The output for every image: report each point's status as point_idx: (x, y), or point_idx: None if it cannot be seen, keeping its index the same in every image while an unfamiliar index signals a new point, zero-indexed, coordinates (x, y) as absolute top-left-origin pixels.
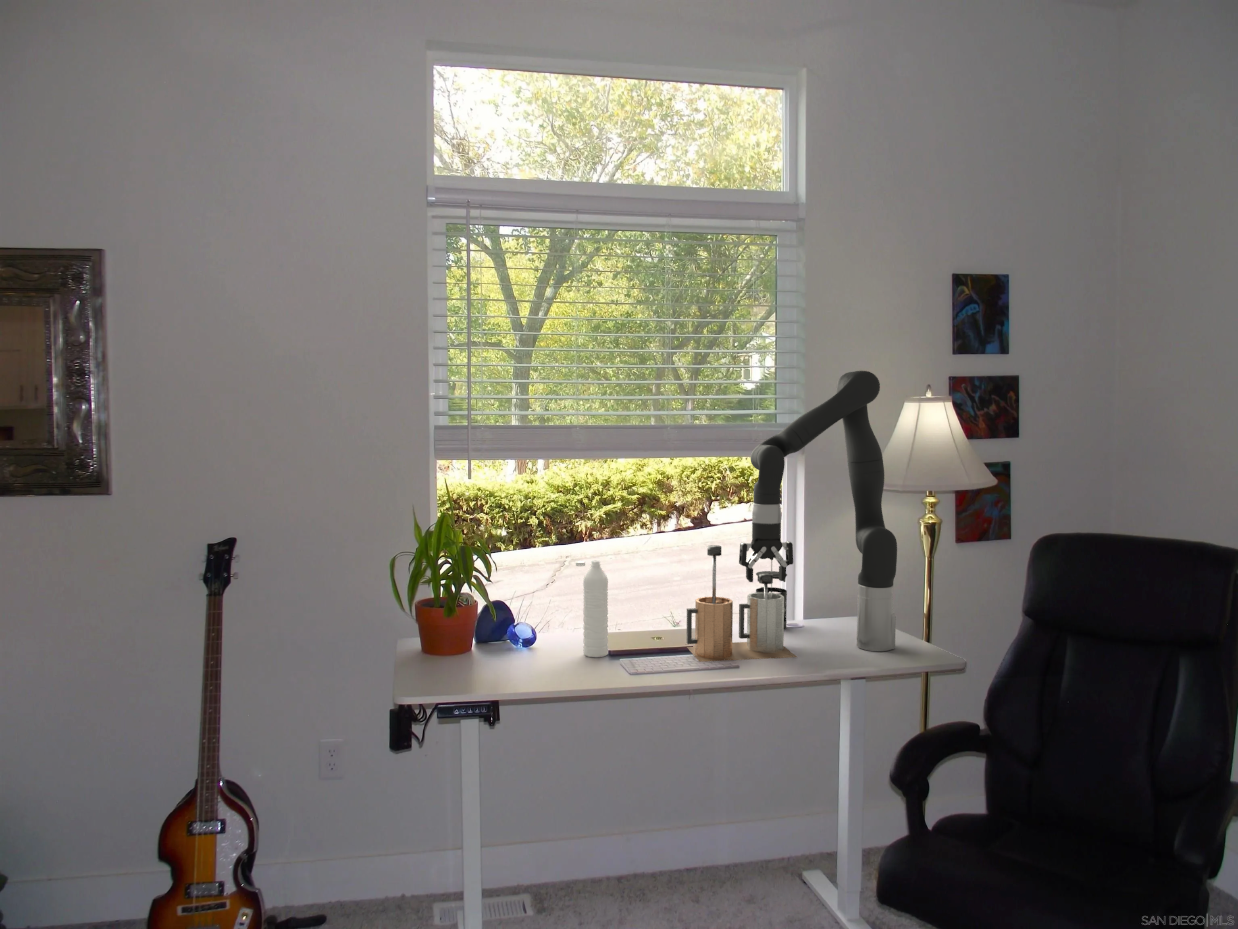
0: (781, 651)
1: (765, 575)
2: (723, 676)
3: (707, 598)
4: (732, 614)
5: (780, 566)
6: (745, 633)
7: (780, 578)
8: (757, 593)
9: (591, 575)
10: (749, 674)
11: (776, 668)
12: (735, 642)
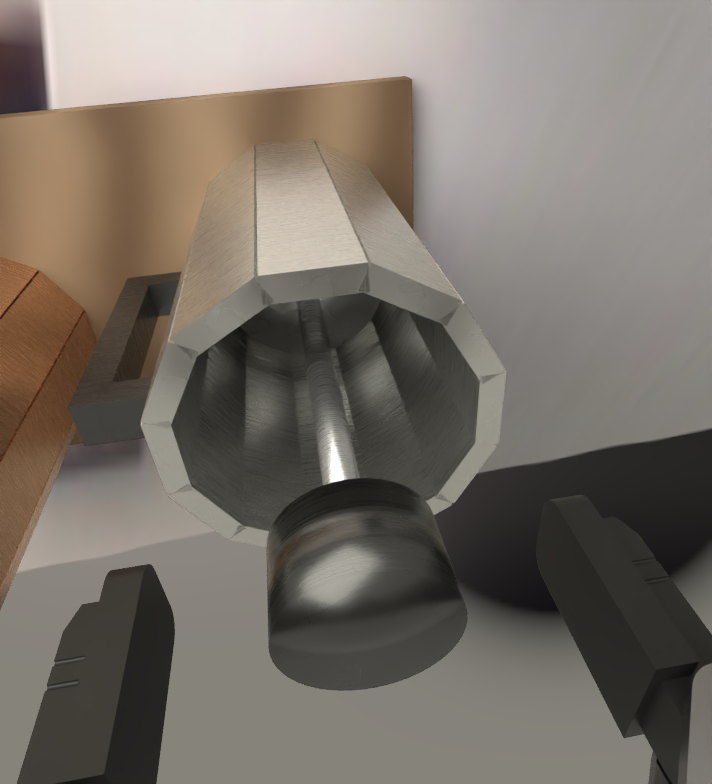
0: None
1: (344, 677)
2: (78, 542)
3: None
4: (34, 512)
5: (656, 693)
6: (169, 288)
7: (551, 556)
8: (272, 302)
9: None
10: (180, 520)
11: None
12: (118, 109)
